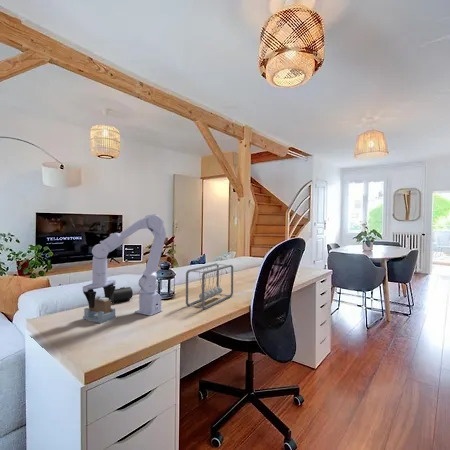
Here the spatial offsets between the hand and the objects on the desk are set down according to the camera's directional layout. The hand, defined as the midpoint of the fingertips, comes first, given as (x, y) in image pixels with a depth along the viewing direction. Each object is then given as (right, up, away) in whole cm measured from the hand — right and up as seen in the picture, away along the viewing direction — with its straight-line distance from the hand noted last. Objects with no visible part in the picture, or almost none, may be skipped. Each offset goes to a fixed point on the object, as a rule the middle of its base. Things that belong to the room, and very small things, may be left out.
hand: (99, 305), depth 117 cm
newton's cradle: (+45, -6, +28) cm, 53 cm away
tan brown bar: (0, -3, 0) cm, 3 cm away
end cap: (-1, -6, +26) cm, 27 cm away
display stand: (0, -6, 0) cm, 6 cm away
